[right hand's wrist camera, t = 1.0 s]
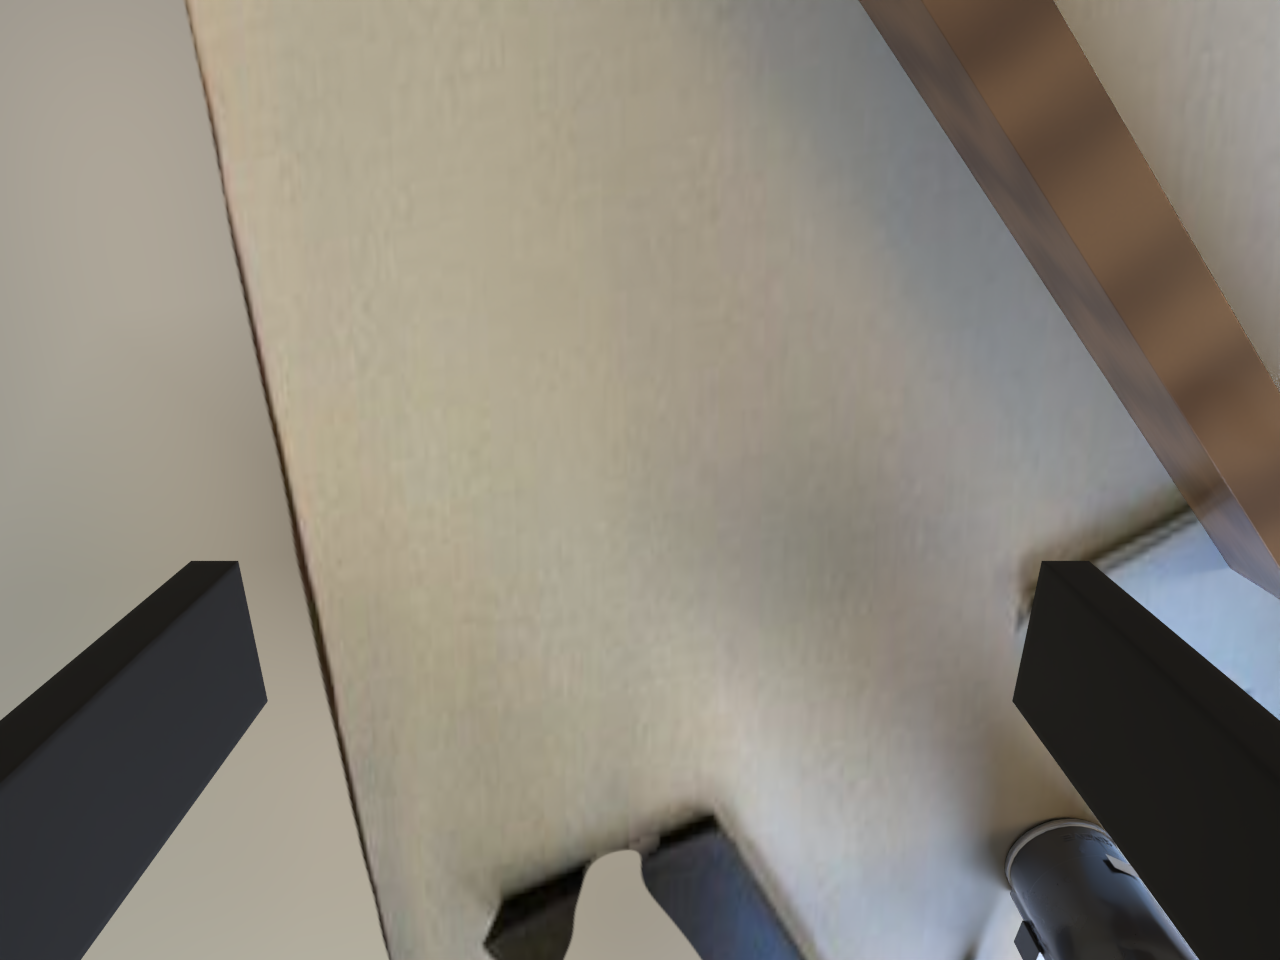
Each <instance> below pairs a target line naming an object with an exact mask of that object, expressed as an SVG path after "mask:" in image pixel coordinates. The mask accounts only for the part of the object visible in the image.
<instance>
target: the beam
mask: <svg viewBox="0 0 1280 960" xmlns="http://www.w3.org/2000/svg"><path fill="white" fill-rule="evenodd" d="M859 1H860V3H861V4H862V6H863V8H864V9H865V11H866V12H867V14H868V15H869V17H870V18H871V20H872V21H873V23H874V24H875V26H876V27H877V29H878V30H879V32H880V34H881V35H882V37H883V38H884V40H885V41H886V43H887V44H888V46H889V47H890V49H891V50H892V52H893V53H894V55H895V56H896V58H897V59H898V61H899V63H900V64H901V66H902V67H903V69H904V70H905V72H906V73H907V75H908V76H909V78H910V79H911V81H912V82H913V84H914V85H915V87H916V89H917V90H918V92H919V93H920V95H921V96H922V98H923V99H924V101H925V102H926V104H927V105H928V107H929V108H930V110H931V111H932V113H933V114H934V116H935V118H936V119H937V121H938V122H939V124H940V125H941V127H942V128H943V130H944V131H945V133H946V134H947V136H948V137H949V139H950V140H951V142H952V144H953V145H954V147H955V148H956V150H957V151H958V153H959V154H960V156H961V157H962V159H963V160H964V162H965V163H966V165H967V166H968V168H969V170H970V171H971V173H972V174H973V176H974V177H975V179H976V180H977V182H978V183H979V185H980V186H981V188H982V189H983V191H984V192H985V194H986V195H987V197H988V199H989V200H990V202H991V203H992V205H993V206H994V208H995V209H996V211H997V212H998V214H999V215H1000V217H1001V218H1002V220H1003V221H1004V223H1005V225H1006V226H1007V228H1008V229H1009V231H1010V232H1011V234H1012V235H1013V237H1014V238H1015V240H1016V241H1017V243H1018V244H1019V246H1020V247H1021V249H1022V251H1023V252H1024V254H1025V255H1026V257H1027V258H1028V260H1029V261H1030V263H1031V264H1032V266H1033V267H1034V269H1035V270H1036V272H1037V273H1038V275H1039V276H1040V278H1041V280H1042V281H1043V283H1044V284H1045V286H1046V287H1047V289H1048V290H1049V292H1050V293H1051V295H1052V296H1053V298H1054V299H1055V301H1056V302H1057V304H1058V306H1059V307H1060V309H1061V310H1062V312H1063V313H1064V315H1065V316H1066V318H1067V319H1068V321H1069V322H1070V324H1071V325H1072V327H1073V328H1074V330H1075V331H1076V333H1077V335H1078V336H1079V338H1080V339H1081V341H1082V342H1083V344H1084V345H1085V347H1086V348H1087V350H1088V351H1089V353H1090V354H1091V356H1092V357H1093V359H1094V361H1095V362H1096V364H1097V365H1098V367H1099V368H1100V370H1101V371H1102V373H1103V374H1104V376H1105V377H1106V379H1107V380H1108V382H1109V383H1110V385H1111V387H1112V388H1113V390H1114V391H1115V393H1116V394H1117V396H1118V397H1119V399H1120V400H1121V402H1122V403H1123V405H1124V406H1125V408H1126V409H1127V411H1128V412H1129V414H1130V416H1131V417H1132V419H1133V420H1134V422H1135V423H1136V425H1137V426H1138V428H1139V429H1140V431H1141V432H1142V434H1143V435H1144V437H1145V438H1146V440H1147V442H1148V443H1149V445H1150V446H1151V448H1152V449H1153V451H1154V452H1155V454H1156V455H1157V457H1158V458H1159V460H1160V461H1161V463H1162V464H1163V466H1164V468H1165V469H1166V471H1167V472H1168V474H1169V475H1170V477H1171V478H1172V480H1173V481H1174V483H1175V484H1176V486H1177V487H1178V489H1179V490H1180V492H1181V493H1182V495H1183V497H1184V498H1185V500H1186V501H1187V503H1188V504H1189V506H1190V507H1191V509H1192V510H1193V512H1194V513H1195V515H1196V516H1197V518H1198V519H1199V521H1200V523H1201V524H1202V526H1203V527H1204V529H1205V530H1206V532H1207V533H1208V535H1209V536H1210V538H1211V539H1212V541H1213V542H1214V544H1215V545H1216V547H1217V548H1218V550H1219V552H1220V553H1221V555H1222V556H1223V558H1224V559H1225V561H1226V562H1227V564H1228V565H1229V567H1230V568H1231V569H1233V570H1234V571H1236V572H1237V573H1239V574H1240V575H1242V576H1244V577H1245V578H1247V579H1248V580H1250V581H1252V582H1253V583H1255V584H1256V585H1258V586H1260V587H1261V588H1263V589H1264V590H1266V591H1267V592H1269V593H1271V594H1272V595H1274V596H1275V597H1277V598H1279V599H1280V392H1279V391H1278V389H1277V387H1276V385H1275V384H1274V382H1273V380H1272V379H1271V377H1270V375H1269V373H1268V372H1267V370H1266V368H1265V366H1264V365H1263V363H1262V361H1261V359H1260V358H1259V356H1258V354H1257V353H1256V351H1255V349H1254V347H1253V346H1252V344H1251V342H1250V340H1249V339H1248V337H1247V335H1246V333H1245V332H1244V330H1243V328H1242V327H1241V325H1240V323H1239V321H1238V320H1237V318H1236V316H1235V314H1234V313H1233V311H1232V309H1231V308H1230V306H1229V304H1228V302H1227V301H1226V299H1225V297H1224V295H1223V294H1222V292H1221V290H1220V288H1219V287H1218V285H1217V283H1216V282H1215V280H1214V278H1213V276H1212V275H1211V273H1210V271H1209V269H1208V268H1207V266H1206V264H1205V263H1204V261H1203V259H1202V257H1201V256H1200V254H1199V252H1198V250H1197V249H1196V247H1195V245H1194V243H1193V242H1192V240H1191V238H1190V237H1189V235H1188V233H1187V231H1186V230H1185V228H1184V226H1183V224H1182V223H1181V221H1180V219H1179V217H1178V216H1177V214H1176V212H1175V211H1174V209H1173V207H1172V205H1171V204H1170V202H1169V200H1168V198H1167V197H1166V195H1165V193H1164V192H1163V190H1162V188H1161V186H1160V185H1159V183H1158V181H1157V179H1156V178H1155V176H1154V174H1153V172H1152V171H1151V169H1150V167H1149V166H1148V164H1147V162H1146V160H1145V159H1144V157H1143V155H1142V153H1141V152H1140V150H1139V148H1138V147H1137V145H1136V143H1135V141H1134V140H1133V138H1132V136H1131V134H1130V133H1129V131H1128V129H1127V127H1126V126H1125V124H1124V122H1123V121H1122V119H1121V117H1120V115H1119V114H1118V112H1117V110H1116V108H1115V107H1114V105H1113V103H1112V101H1111V100H1110V98H1109V96H1108V95H1107V93H1106V91H1105V89H1104V88H1103V86H1102V84H1101V82H1100V81H1099V79H1098V77H1097V76H1096V74H1095V72H1094V70H1093V69H1092V67H1091V65H1090V63H1089V62H1088V60H1087V58H1086V56H1085V55H1084V53H1083V51H1082V50H1081V48H1080V46H1079V44H1078V43H1077V41H1076V39H1075V37H1074V36H1073V34H1072V32H1071V31H1070V29H1069V27H1068V25H1067V24H1066V22H1065V20H1064V18H1063V17H1062V15H1061V13H1060V11H1059V10H1058V8H1057V6H1056V5H1055V3H1054V1H1053V0H859Z"/></svg>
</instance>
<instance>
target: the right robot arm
mask: <svg viewBox="0 0 1280 960" xmlns="http://www.w3.org/2000/svg"><path fill="white" fill-rule="evenodd" d="M266 703H267V696H266V691H265V686H264V682H263V677H262V672H261V667H260V663H259V658H258V653H257V648H256V644H255V639H254V634H253V629H252V625H251V620H250V615H249V610H248V606H247V601H246V596H245V591H244V587H243V582H242V577H241V572H240V568H239V563H238V561H191V562H190V563H188V564H187V565H186V566H185V567H184V568H182V569H181V570H180V571H179V572H178V573H176V574H175V575H174V576H173V577H172V578H170V579H169V580H168V581H167V582H166V583H164V584H163V585H162V586H161V587H160V588H158V589H157V590H156V591H155V592H154V593H152V594H151V595H150V596H149V597H148V598H146V599H145V600H144V601H143V602H142V603H140V604H139V605H138V606H137V607H136V608H134V609H133V610H132V611H131V612H130V613H128V614H127V615H126V616H125V617H124V618H123V619H121V620H120V621H119V622H118V623H117V624H115V625H114V626H113V627H112V628H111V629H109V630H108V631H107V632H106V633H105V634H103V635H102V636H101V637H100V638H99V639H97V640H96V641H95V642H94V643H93V644H91V645H90V646H89V647H88V648H87V649H85V650H84V651H83V652H82V653H81V654H79V655H78V656H77V657H76V658H75V659H74V660H72V661H71V662H70V663H69V664H67V665H66V666H65V667H64V668H63V669H61V670H60V671H59V672H58V673H57V674H56V675H54V676H53V677H52V678H51V679H50V680H48V681H47V682H46V683H45V684H44V685H42V686H41V687H40V688H39V689H38V690H36V691H35V692H34V693H33V694H32V695H30V696H29V697H28V698H27V699H26V700H24V701H23V702H22V703H21V704H20V705H18V706H17V707H16V708H15V709H14V710H12V711H11V712H10V713H9V714H8V715H6V716H5V717H4V718H3V719H2V720H0V960H81V959H82V957H83V956H84V954H85V953H86V952H87V950H88V949H89V948H90V946H91V945H92V943H93V942H94V941H95V939H96V938H97V936H98V935H99V934H100V932H101V931H102V930H103V928H104V927H105V925H106V924H107V923H108V921H109V920H110V918H111V917H112V916H113V914H114V913H115V912H116V910H117V909H118V907H119V906H120V905H121V903H122V902H123V900H124V899H125V898H126V896H127V895H128V894H129V892H130V891H131V889H132V888H133V887H134V885H135V884H136V883H137V881H138V880H139V878H140V877H141V876H142V874H143V873H144V871H145V870H146V869H147V867H148V866H149V865H150V863H151V862H152V860H153V859H154V858H155V856H156V855H157V853H158V852H159V851H160V849H161V848H162V846H163V845H164V844H165V842H166V841H167V840H168V838H169V837H170V835H171V834H172V833H173V831H174V830H175V828H176V827H177V826H178V824H179V823H180V822H181V820H182V819H183V817H184V816H185V815H186V813H187V812H188V811H189V809H190V808H191V806H192V805H193V804H194V802H195V801H196V799H197V798H198V797H199V795H200V794H201V793H202V791H203V790H204V788H205V787H206V786H207V784H208V783H209V781H210V780H211V779H212V777H213V776H214V775H215V773H216V772H217V770H218V769H219V768H220V766H221V765H222V764H223V762H224V761H225V759H226V758H227V757H228V755H229V754H230V752H231V751H232V750H233V748H234V747H235V746H236V744H237V743H238V741H239V740H240V739H241V737H242V736H243V734H244V733H245V732H246V730H247V729H248V727H249V726H250V725H251V723H252V722H253V721H254V719H255V718H256V716H257V715H258V714H259V712H260V711H261V710H262V708H263V707H264V705H265V704H266ZM1013 703H1014V704H1015V705H1016V707H1017V708H1018V710H1019V711H1020V712H1021V714H1022V715H1023V716H1024V718H1025V719H1026V721H1027V722H1028V723H1029V725H1030V726H1031V728H1032V729H1033V730H1034V732H1035V733H1036V734H1037V736H1038V737H1039V739H1040V740H1041V741H1042V743H1043V744H1044V746H1045V747H1046V748H1047V750H1048V751H1049V752H1050V754H1051V755H1052V757H1053V758H1054V759H1055V761H1056V762H1057V764H1058V765H1059V766H1060V768H1061V769H1062V770H1063V772H1064V773H1065V775H1066V776H1067V777H1068V779H1069V780H1070V782H1071V783H1072V784H1073V786H1074V787H1075V788H1076V790H1077V791H1078V793H1079V794H1080V795H1081V797H1082V798H1083V800H1084V801H1085V802H1086V804H1087V805H1088V806H1089V808H1090V809H1091V811H1092V812H1093V813H1094V815H1095V816H1096V817H1097V819H1098V820H1099V822H1100V823H1101V824H1102V826H1103V827H1104V829H1105V830H1106V831H1107V833H1108V834H1109V835H1110V837H1111V838H1112V840H1113V841H1114V842H1115V844H1116V845H1117V847H1118V848H1119V849H1120V851H1121V852H1122V853H1123V855H1124V856H1125V858H1126V859H1127V860H1128V862H1129V863H1130V865H1131V866H1132V867H1133V869H1134V870H1135V871H1136V873H1137V874H1138V876H1139V877H1140V878H1141V880H1142V881H1143V883H1144V884H1145V885H1146V887H1147V888H1148V889H1149V891H1150V892H1151V894H1152V895H1153V896H1154V898H1155V899H1156V901H1157V902H1158V903H1159V905H1160V906H1161V907H1162V909H1163V910H1164V912H1165V913H1166V914H1167V916H1168V917H1169V919H1170V920H1171V921H1172V923H1173V924H1174V925H1175V927H1176V928H1177V930H1178V931H1179V932H1180V934H1181V935H1182V936H1183V938H1184V939H1185V941H1186V942H1187V943H1188V945H1189V946H1190V948H1191V949H1192V950H1193V952H1194V953H1195V954H1196V956H1197V957H1198V959H1199V960H1280V720H1278V719H1277V718H1276V717H1275V716H1274V715H1272V714H1271V713H1270V712H1269V711H1268V710H1266V709H1265V708H1264V707H1263V706H1262V705H1260V704H1259V703H1258V702H1257V701H1256V700H1254V699H1253V698H1252V697H1251V696H1250V695H1248V694H1247V693H1246V692H1245V691H1244V690H1242V689H1241V688H1240V687H1239V686H1238V685H1236V684H1235V683H1234V682H1233V681H1232V680H1230V679H1229V678H1228V677H1227V676H1226V675H1225V674H1223V673H1222V672H1221V671H1220V670H1219V669H1217V668H1216V667H1215V666H1214V665H1213V664H1211V663H1210V662H1209V661H1208V660H1207V659H1205V658H1204V657H1203V656H1202V655H1201V654H1199V653H1198V652H1197V651H1196V650H1195V649H1193V648H1192V647H1191V646H1190V645H1189V644H1187V643H1186V642H1185V641H1184V640H1183V639H1181V638H1180V637H1179V636H1178V635H1177V634H1175V633H1174V632H1173V631H1172V630H1171V629H1169V628H1168V627H1167V626H1166V625H1165V624H1163V623H1162V622H1161V621H1160V620H1159V619H1158V618H1156V617H1155V616H1154V615H1153V614H1152V613H1150V612H1149V611H1148V610H1147V609H1146V608H1144V607H1143V606H1142V605H1141V604H1140V603H1138V602H1137V601H1136V600H1135V599H1134V598H1132V597H1131V596H1130V595H1129V594H1128V593H1126V592H1125V591H1124V590H1123V589H1122V588H1120V587H1119V586H1118V585H1117V584H1116V583H1114V582H1113V581H1112V580H1111V579H1110V578H1108V577H1107V576H1106V575H1105V574H1104V573H1102V572H1101V571H1100V570H1099V569H1098V568H1097V567H1095V566H1094V565H1093V564H1092V563H1091V562H1089V561H1042V563H1041V568H1040V572H1039V577H1038V582H1037V587H1036V591H1035V596H1034V601H1033V606H1032V610H1031V615H1030V620H1029V625H1028V629H1027V634H1026V639H1025V644H1024V648H1023V653H1022V658H1021V663H1020V667H1019V672H1018V677H1017V682H1016V686H1015V691H1014V696H1013Z"/></svg>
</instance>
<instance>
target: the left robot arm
mask: <svg viewBox="0 0 1280 960" xmlns="http://www.w3.org/2000/svg"><path fill="white" fill-rule="evenodd" d="M1005 873H1006V876H1007V879H1008V881H1009V883H1010V885H1011V887H1012V890H1011V893H1010V895H1011V897H1012V899H1013V901H1014V903H1015V905H1016V907H1017V908H1018V910H1019V912H1020V914H1021V916H1022V918H1023V920H1024V921H1022V923H1021V926H1020V928H1019V931H1018V933H1017V935H1016V938H1015V940H1014V943H1015V945H1016V947H1017V949H1018V951H1019V953H1020V955H1021V957H1022V959H1023V960H1198V959H1197V957H1196V956H1195V954H1194V953H1193V952H1192V950H1191V949H1190V948H1189V946H1188V945H1187V944H1186V942H1185V941H1184V939H1183V938H1182V937H1181V935H1180V934H1179V933H1178V931H1177V930H1176V928H1175V927H1174V926H1173V924H1172V923H1171V922H1170V920H1169V919H1168V918H1167V916H1166V915H1165V913H1164V912H1163V911H1162V909H1161V908H1160V907H1159V905H1158V904H1157V903H1156V901H1155V900H1154V898H1153V897H1152V896H1151V894H1150V893H1149V892H1148V890H1147V889H1146V887H1145V886H1144V885H1143V883H1142V882H1141V881H1140V879H1141V878H1140V877H1139V876H1138V874H1137V873H1136V871H1135V870H1134V869H1133V867H1132V866H1131V865H1129V864H1128V863H1127V861H1126V860H1125V859H1124V857H1123V856H1122V855H1121V853H1120V852H1119V850H1118V849H1117V847H1116V845H1115V843H1114V841H1113V840H1112V839H1111V837H1110V836H1109V835H1108V833H1107V832H1106V831H1105V830H1104V829H1102V828H1101V827H1100V826H1098V825H1096V824H1094V823H1092V822H1089V821H1085V820H1080V819H1060V820H1054V821H1050V822H1047V823H1044V824H1041V825H1039V826H1037V827H1035V828H1033V829H1031V830H1029V831H1028V832H1026V833H1025V834H1024V835H1023V836H1021V837H1020V838H1019V839H1018V840H1017V841H1016V842H1015V843H1014V845H1013V846H1012V848H1011V849H1010V851H1009V853H1008V855H1007V858H1006V862H1005ZM1139 878H1140V879H1139Z"/></svg>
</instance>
